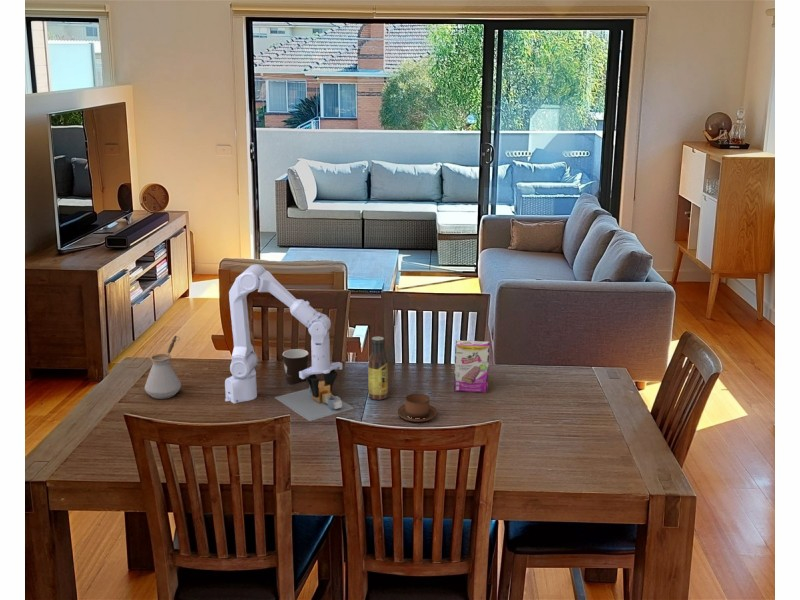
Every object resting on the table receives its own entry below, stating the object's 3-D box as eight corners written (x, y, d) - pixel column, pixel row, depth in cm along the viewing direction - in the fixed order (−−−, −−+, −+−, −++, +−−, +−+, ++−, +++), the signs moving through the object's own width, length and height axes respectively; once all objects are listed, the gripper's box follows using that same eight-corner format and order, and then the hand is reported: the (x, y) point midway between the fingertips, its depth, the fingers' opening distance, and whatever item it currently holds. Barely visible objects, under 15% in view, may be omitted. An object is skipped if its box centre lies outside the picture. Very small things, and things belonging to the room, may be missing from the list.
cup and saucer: (391, 412, 272) (391, 393, 270) (427, 406, 276) (428, 388, 274) (405, 427, 261) (405, 408, 259) (443, 421, 265) (443, 402, 263)
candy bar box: (453, 392, 286) (454, 344, 282) (454, 386, 291) (455, 339, 286) (488, 393, 285) (489, 346, 281) (488, 387, 290) (489, 340, 285)
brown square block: (312, 398, 276) (312, 383, 275) (323, 395, 279) (323, 380, 277) (319, 402, 273) (319, 387, 272) (330, 399, 276) (330, 384, 274)
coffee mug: (307, 386, 291) (306, 358, 288) (281, 386, 291) (280, 358, 288) (311, 373, 302) (310, 346, 299) (286, 373, 302) (285, 345, 299)
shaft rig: (334, 412, 267) (334, 401, 266) (301, 391, 283) (300, 381, 282) (349, 408, 270) (349, 397, 269) (316, 387, 286) (316, 377, 285)
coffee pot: (174, 402, 278) (171, 357, 274) (139, 400, 280) (135, 356, 275) (196, 377, 299) (193, 335, 294) (163, 375, 300) (159, 334, 296)
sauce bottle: (385, 401, 279) (385, 342, 273) (366, 400, 280) (365, 341, 274) (389, 393, 285) (389, 335, 279) (371, 392, 286) (370, 334, 280)
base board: (309, 425, 262) (309, 421, 261) (274, 401, 279) (274, 397, 278) (354, 412, 271) (354, 408, 270) (317, 390, 288) (317, 386, 287)
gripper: (306, 362, 264) (308, 404, 268) (347, 353, 272) (348, 393, 276) (295, 356, 270) (296, 397, 274) (335, 346, 278) (336, 386, 282)
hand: (321, 394), depth 275 cm, fingers closed on brown square block, 4 cm apart
